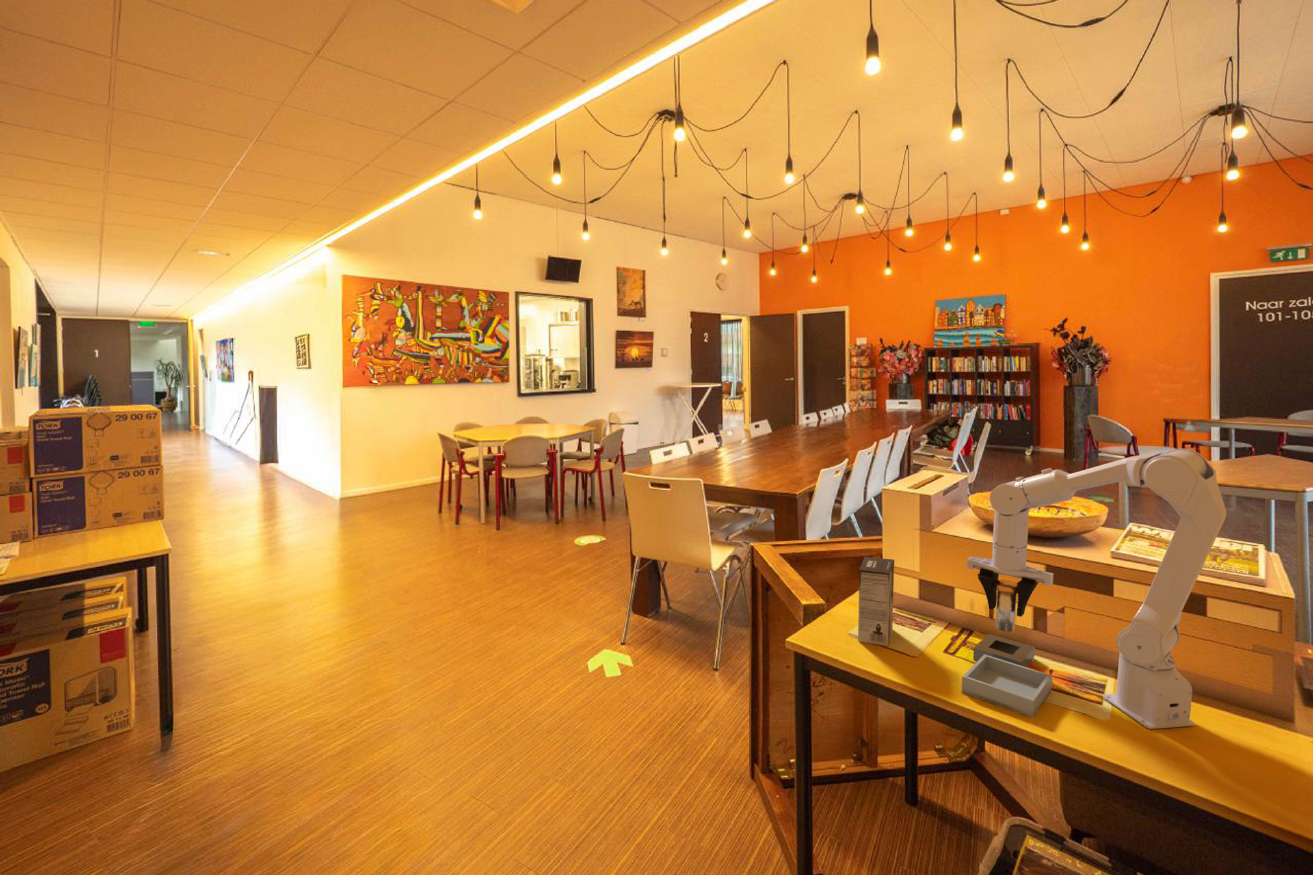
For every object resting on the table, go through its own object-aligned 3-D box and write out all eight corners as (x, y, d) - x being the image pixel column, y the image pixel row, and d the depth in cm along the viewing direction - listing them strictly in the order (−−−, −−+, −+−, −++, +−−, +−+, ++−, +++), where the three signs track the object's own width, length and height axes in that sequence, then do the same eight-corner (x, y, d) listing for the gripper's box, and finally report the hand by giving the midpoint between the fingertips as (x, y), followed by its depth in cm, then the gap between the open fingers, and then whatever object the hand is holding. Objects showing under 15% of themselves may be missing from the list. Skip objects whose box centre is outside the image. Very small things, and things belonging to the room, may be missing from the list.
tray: (1051, 690, 109) (1052, 675, 109) (1032, 717, 101) (1033, 700, 101) (983, 668, 117) (984, 654, 117) (961, 692, 109) (962, 676, 109)
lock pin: (1023, 632, 118) (1027, 587, 116) (1001, 633, 117) (1004, 589, 116) (1008, 621, 122) (1011, 579, 121) (986, 623, 122) (989, 580, 120)
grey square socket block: (1034, 658, 120) (1034, 646, 120) (1020, 674, 115) (1021, 662, 114) (987, 644, 126) (988, 633, 126) (973, 659, 121) (973, 647, 120)
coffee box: (862, 624, 138) (864, 555, 135) (893, 628, 135) (894, 558, 133) (857, 641, 129) (858, 568, 127) (889, 647, 127) (891, 572, 124)
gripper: (1059, 546, 115) (1055, 615, 117) (977, 532, 125) (974, 595, 127) (1048, 555, 110) (1044, 627, 112) (964, 539, 120) (961, 605, 122)
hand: (1006, 611), depth 119 cm, fingers closed on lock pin, 4 cm apart
